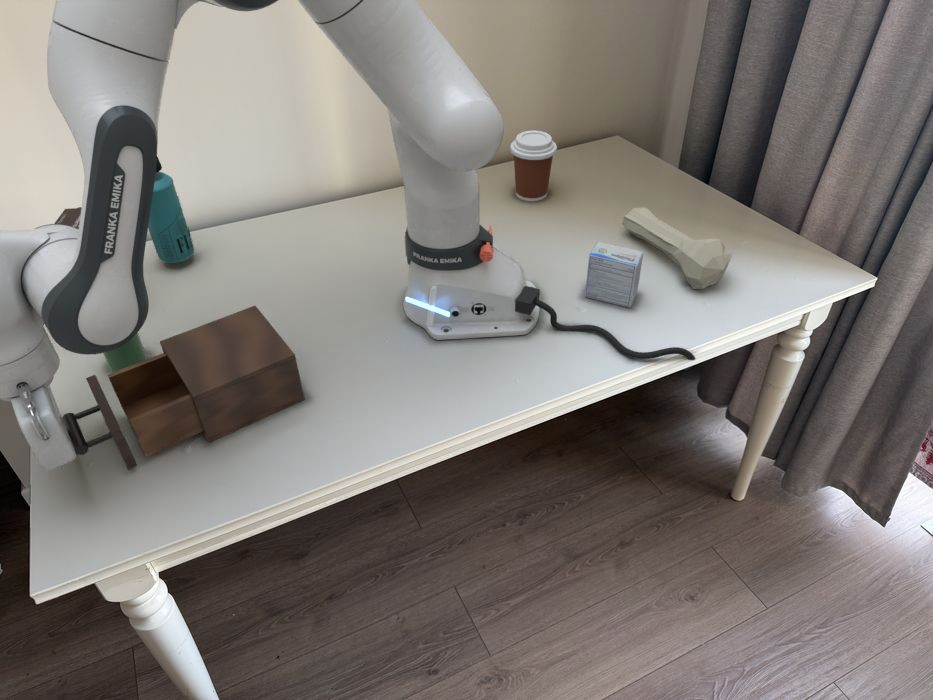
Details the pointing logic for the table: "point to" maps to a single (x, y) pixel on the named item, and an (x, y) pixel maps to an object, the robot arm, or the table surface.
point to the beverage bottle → (168, 221)
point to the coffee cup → (532, 164)
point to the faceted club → (681, 248)
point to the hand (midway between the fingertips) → (59, 443)
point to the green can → (126, 354)
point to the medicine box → (613, 274)
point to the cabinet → (235, 371)
